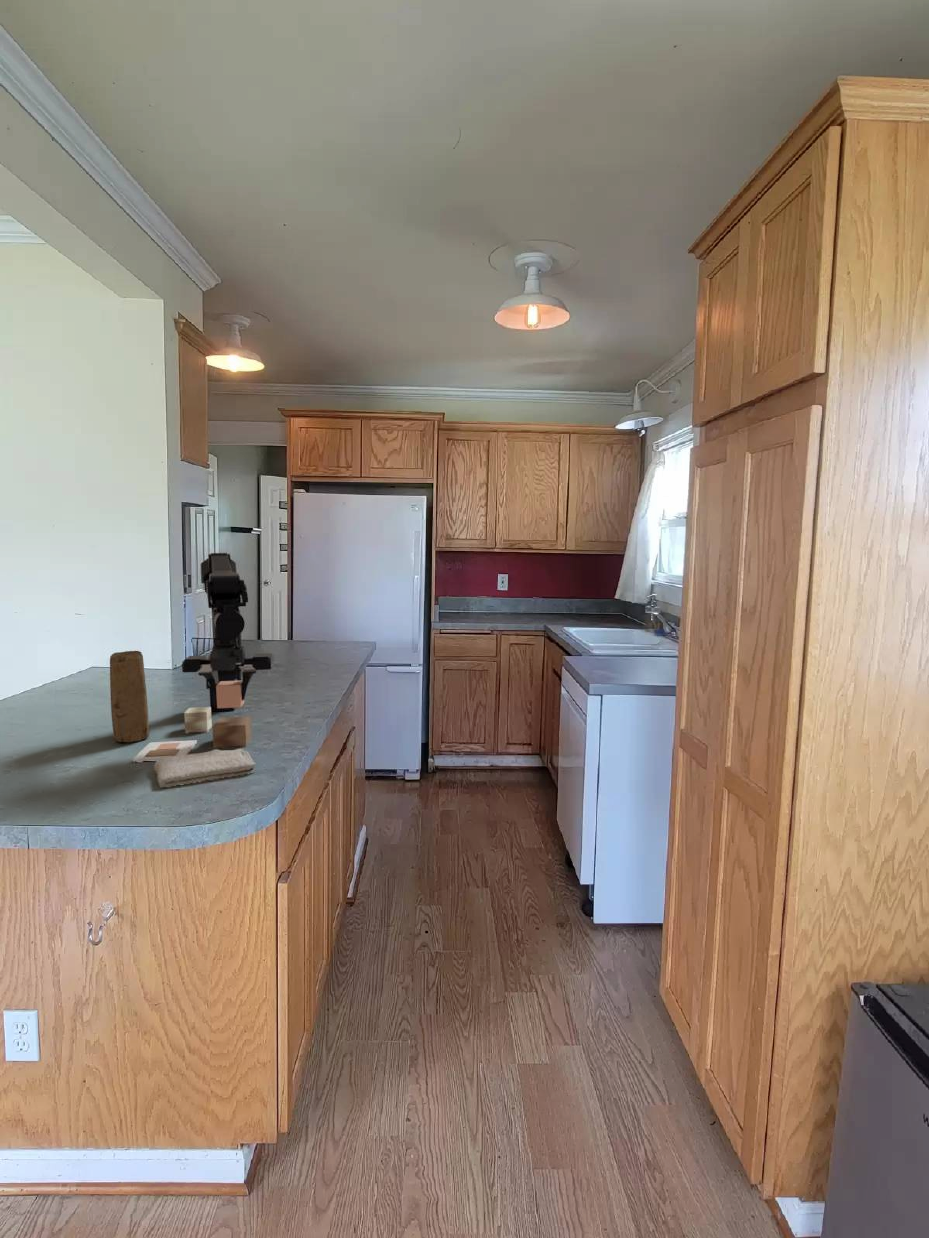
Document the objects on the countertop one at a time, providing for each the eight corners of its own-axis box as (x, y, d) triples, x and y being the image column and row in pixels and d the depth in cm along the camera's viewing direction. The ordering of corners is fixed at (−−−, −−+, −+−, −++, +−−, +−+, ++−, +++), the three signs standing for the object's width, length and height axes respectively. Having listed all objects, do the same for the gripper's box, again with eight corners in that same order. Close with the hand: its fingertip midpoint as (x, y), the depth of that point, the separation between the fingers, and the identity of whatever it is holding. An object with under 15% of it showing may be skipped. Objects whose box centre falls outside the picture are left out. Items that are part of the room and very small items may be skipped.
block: (150, 741, 152) (144, 654, 149) (113, 746, 148) (106, 657, 146) (148, 729, 161) (143, 647, 159) (113, 733, 158) (107, 650, 156)
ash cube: (185, 733, 158) (184, 712, 157) (190, 727, 163) (189, 707, 162) (207, 732, 159) (206, 711, 158) (211, 726, 164) (210, 706, 163)
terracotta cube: (217, 708, 147) (216, 686, 146) (221, 702, 152) (220, 681, 151) (240, 707, 148) (239, 685, 147) (244, 701, 153) (243, 680, 152)
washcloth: (259, 775, 131) (258, 760, 130) (158, 792, 122) (157, 776, 122) (247, 758, 141) (246, 744, 141) (153, 773, 132) (152, 758, 132)
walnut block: (213, 748, 147) (212, 726, 146) (220, 739, 154) (219, 718, 153) (246, 746, 148) (245, 724, 147) (251, 737, 155) (250, 716, 154)
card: (132, 762, 137) (131, 759, 137) (149, 745, 149) (149, 741, 149) (183, 759, 139) (183, 756, 139) (196, 742, 150) (196, 739, 150)
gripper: (173, 638, 138) (177, 711, 140) (266, 635, 141) (269, 707, 143) (186, 630, 149) (190, 699, 151) (272, 628, 152) (275, 695, 154)
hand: (230, 700), depth 150 cm, fingers closed on terracotta cube, 5 cm apart
